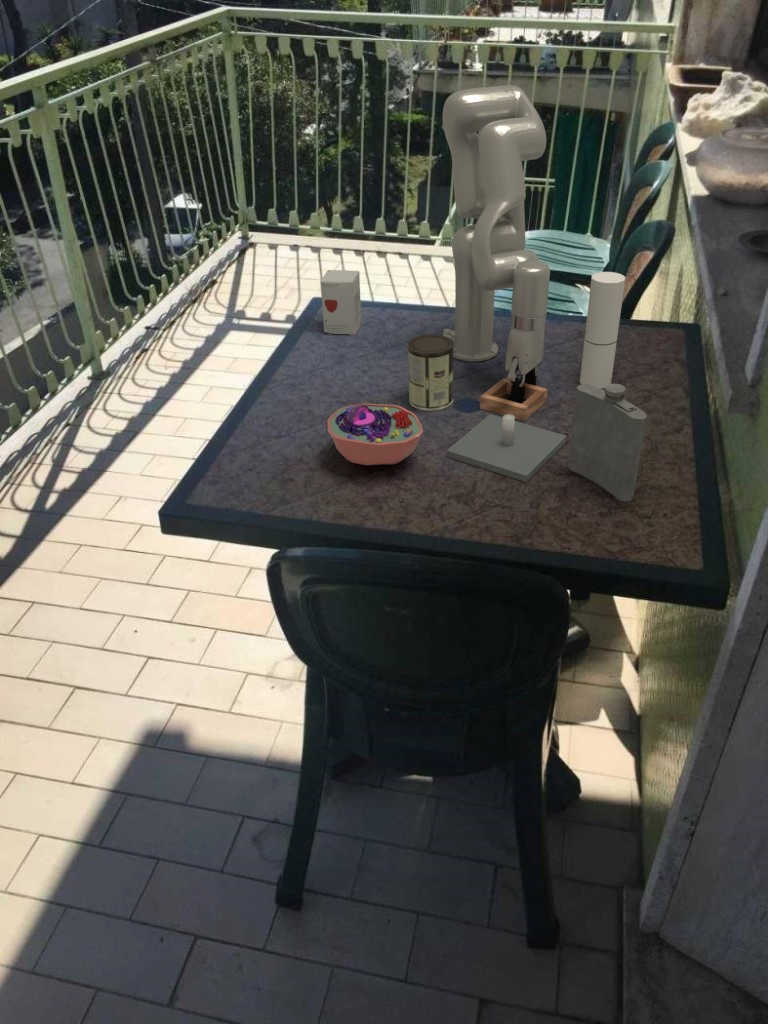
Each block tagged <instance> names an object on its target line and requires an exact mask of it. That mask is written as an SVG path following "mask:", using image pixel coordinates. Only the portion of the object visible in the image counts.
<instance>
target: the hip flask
mask: <svg viewBox="0 0 768 1024" xmlns="http://www.w3.org/2000/svg"><path fill="white" fill-rule="evenodd" d="M626 389H627V388H626V387H625V386H624V385H622V384H619V383H611V384H608V385H606V386H605V388H604V389H603V388H601V389H600V388H597V387H594V386H592V385H588V384H580V385H577V386H576V393H575V402H574V412H573V421H572V431H571V441H570V449H569V455H568V456H569V458H568V466H567V468H568V469H569V471H571V472H572V473H573V472H574V473H576V474H578V475H580V476H582V477H584V478H586V479H588V480H590V481H592V482H593V483H595V484H596V485H599V486H600V487H601V488H602V489H604V490H605V491H606V492H608V493H609V494H611V495H612V496H613V497H614V498H615V499H616V500H618V501H620V502H622V503H629V502H631V501H632V500H633V499H634V495H635V489H636V485H637V484H636V482H637V478H638V470H639V465H640V460H641V459H640V458H641V453H642V448H643V442H644V441H643V440H644V436H645V431H646V430H645V429H646V425H647V418H648V415H647V413H646V412H645V411H644V410H642V409H641V408H639V407H637V406H636V405H634V404H633V403H631V402H629V401H628V400H626V399H625V398H624V397H625V394H626Z"/></svg>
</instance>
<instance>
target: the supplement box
mask: <svg viewBox="0 0 768 1024" xmlns="http://www.w3.org/2000/svg"><path fill="white" fill-rule="evenodd" d="M360 279H361V278H360V271H359V270H344V269H342V270H341V269H340V270H339V269H338V270H337V269H327V270H326V272H325V274H324V275H323V276H322V278H321V279H320V293H321V294H320V295H321V296H320V297H321V306H322V320H323V331H324V332H328V333H334V334H350V335H349V336H356V335H357V334H358V332H357V331H359V330H358V329H360V328H361V325H362V323H361V322H362V305H361V303H362V302H361V301H362V300H361V286H360V285H361V283H360V281H361V280H360ZM324 332H323V333H324ZM356 333H357V334H356Z"/></svg>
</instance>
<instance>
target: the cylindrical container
mask: <svg viewBox="0 0 768 1024" xmlns="http://www.w3.org/2000/svg"><path fill="white" fill-rule="evenodd" d="M590 280H591V281H590V287H589V288H590V289H589V297H588V305H587V314H586V322H585V323H586V324H585V330H584V331H585V332H584V341H583V349H582V351H583V352H582V358H581V367H580V368H581V369H580V375H579V376H580V377H579V383H580V385H582V384H588V385H592V386H594V387H597V388H600V389H605V386H606V385H608V384H612V378H613V372H614V363H615V356H616V349H617V341H618V335H619V327H620V321H621V315H622V314H621V313H622V312H621V311H622V305H623V297H624V292H625V291H624V290H625V283H626V276H624V275H623V274H621V273H619V272H615V271H614V272H613V271H601V272H595V273H594V274H592V275H591V278H590Z"/></svg>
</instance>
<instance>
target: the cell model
mask: <svg viewBox="0 0 768 1024" xmlns="http://www.w3.org/2000/svg"><path fill="white" fill-rule="evenodd" d="M326 422H327V431H328V434H329V435H330V436H331V438H332V440H333V442H334V445H335V448H336V450H337V451H338V452H339V454H341V455H342V456H343V457H344V458H345V459H346V460H347V461H349V462H350V463H353V464H356V465H357V464H358V465H361V466H374V465H388V466H392V465H396V464H399V463H400V462H402V461H404V460H405V459H406V458H408V457H409V456H410V455H411V454H412V453H413V452H414V451H415V449H417V445H418V444H419V442H420V440H421V437H422V435H423V432H424V430H423V429H424V428H423V426H422V424H421V421H420V420H419V418H418V417H417V415H416V414H415V413H414V412H412V411H410V410H408V409H406V408H405V407H403V406H401V405H396V404H382V403H381V404H379V403H377V404H376V403H354V404H350V405H346V406H343V407H341V408H339V409H337V410H336V411H334V412H333V413H332V414H331V415H330V417H328V419H327V421H326Z"/></svg>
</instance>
